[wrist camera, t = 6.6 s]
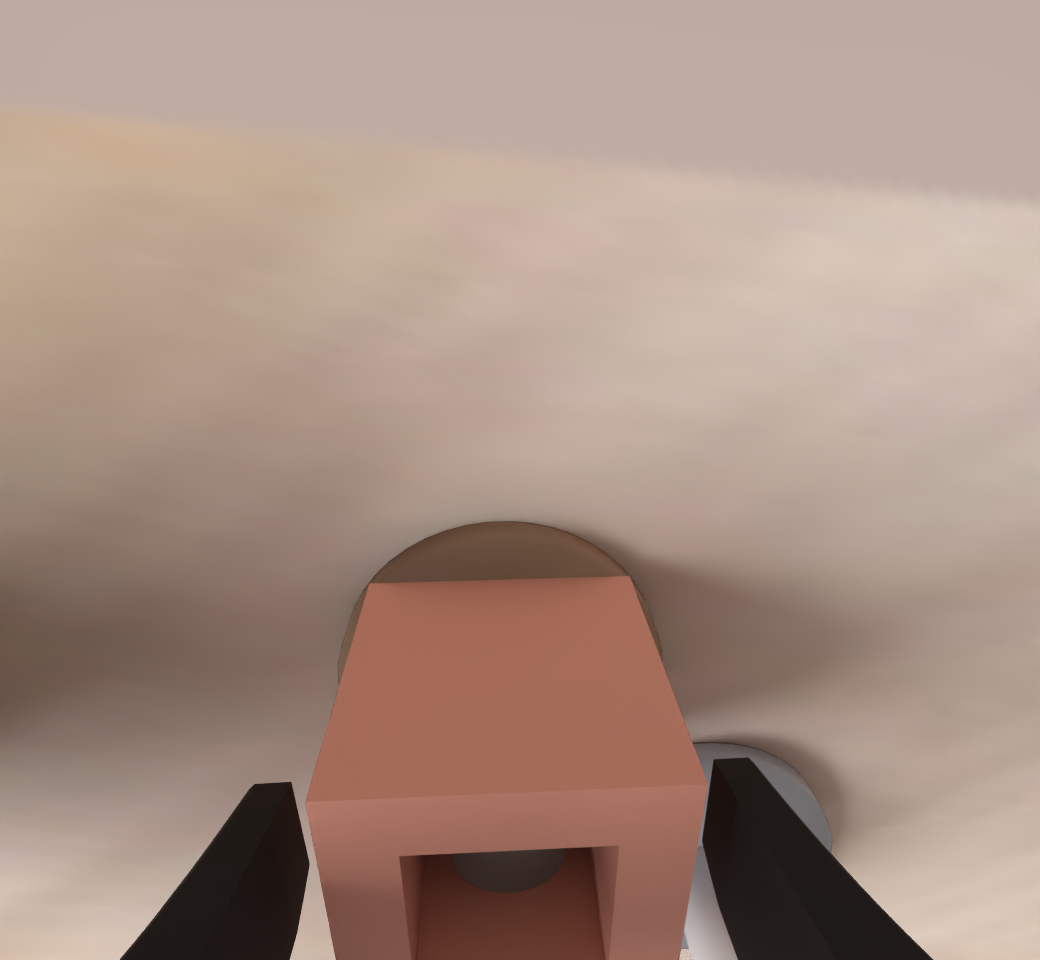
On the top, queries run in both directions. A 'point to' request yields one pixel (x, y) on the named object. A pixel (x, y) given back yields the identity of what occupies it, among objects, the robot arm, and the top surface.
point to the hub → (498, 558)
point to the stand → (703, 913)
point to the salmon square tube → (506, 775)
